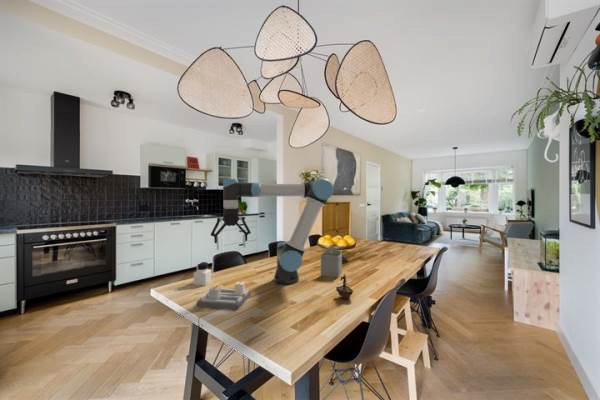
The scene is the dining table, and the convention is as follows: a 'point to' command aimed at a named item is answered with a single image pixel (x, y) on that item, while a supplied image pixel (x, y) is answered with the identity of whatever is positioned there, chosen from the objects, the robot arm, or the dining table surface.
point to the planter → (331, 262)
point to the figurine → (344, 289)
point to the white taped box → (240, 288)
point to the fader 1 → (215, 293)
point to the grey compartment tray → (224, 300)
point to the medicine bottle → (202, 274)
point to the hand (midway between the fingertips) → (231, 248)
